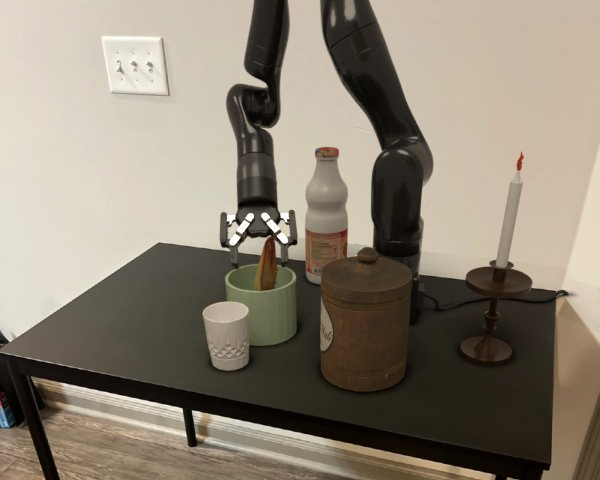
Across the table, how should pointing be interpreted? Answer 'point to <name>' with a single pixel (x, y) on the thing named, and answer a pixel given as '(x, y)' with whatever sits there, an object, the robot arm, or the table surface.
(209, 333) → the white cup
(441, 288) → the table surface
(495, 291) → the candlestick
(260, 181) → the robot arm
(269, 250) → the crab claw
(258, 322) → the crock
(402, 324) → the wooden container
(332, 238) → the fruit juice
